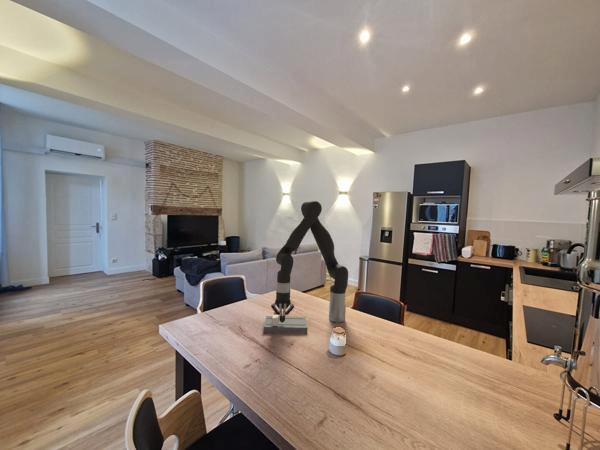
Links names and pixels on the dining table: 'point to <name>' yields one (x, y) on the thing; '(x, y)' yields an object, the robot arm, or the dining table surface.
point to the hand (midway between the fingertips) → (282, 321)
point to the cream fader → (275, 320)
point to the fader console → (286, 325)
